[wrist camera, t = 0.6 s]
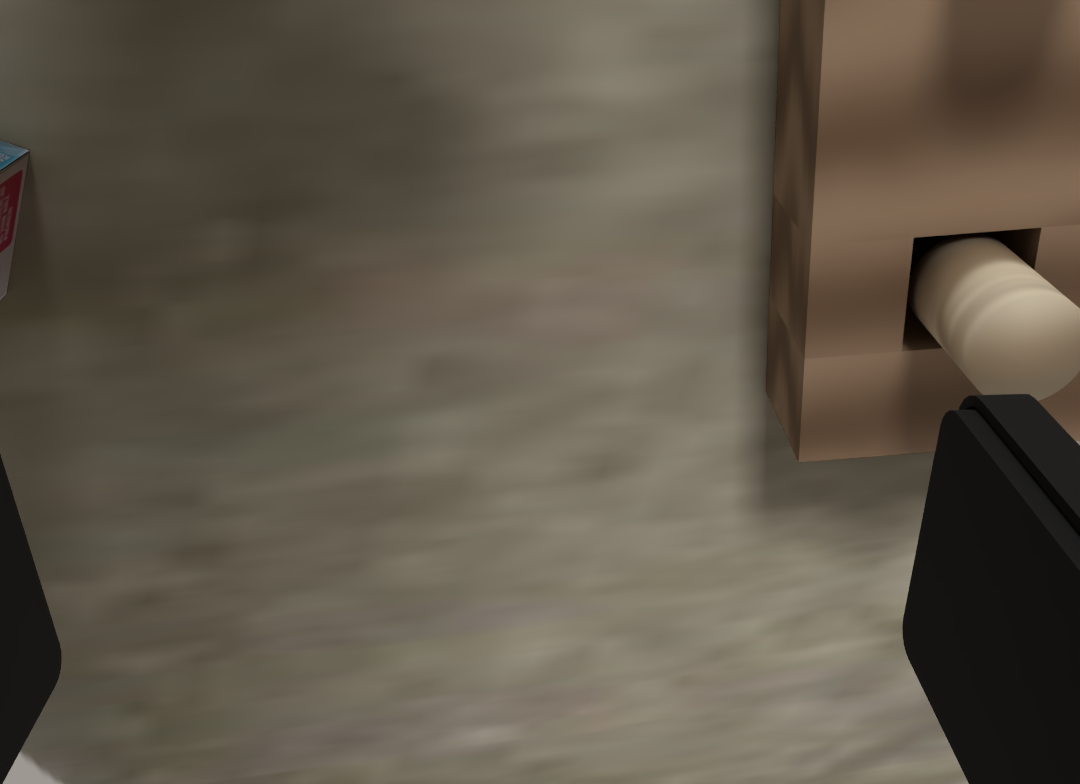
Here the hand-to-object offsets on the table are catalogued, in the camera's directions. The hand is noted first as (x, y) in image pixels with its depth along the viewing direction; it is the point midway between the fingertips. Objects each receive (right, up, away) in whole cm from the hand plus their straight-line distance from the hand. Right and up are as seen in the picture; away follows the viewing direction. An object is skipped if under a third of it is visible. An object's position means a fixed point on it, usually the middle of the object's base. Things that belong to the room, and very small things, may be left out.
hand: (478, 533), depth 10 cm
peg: (+16, +6, +28) cm, 33 cm away
